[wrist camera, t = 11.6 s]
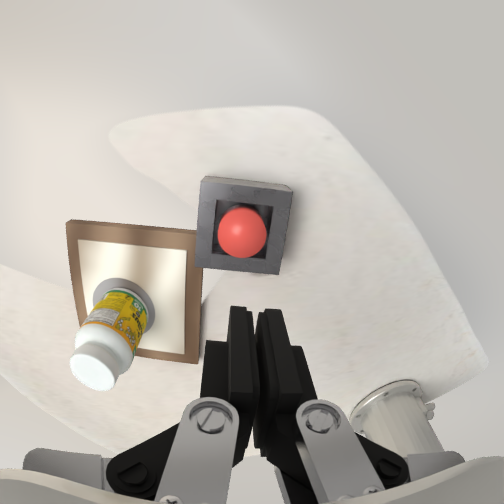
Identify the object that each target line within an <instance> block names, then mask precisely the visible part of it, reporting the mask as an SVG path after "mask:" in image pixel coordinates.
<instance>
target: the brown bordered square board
mask: <svg viewBox="0 0 504 504" xmlns="http://www.w3.org/2000/svg"><path fill="white" fill-rule="evenodd" d="M66 234H67V246H68V256H69V265H70V273H71V280H72V285H73V293H74V299H75V304H76V310H77V315H78V320H79V324H80V327H81V325H82V324H83V322H84V321H85V320H86V318H87V317H88V315H89V314H90V312H91V311H92V309H93V308H94V307H95V305H96V304H97V302H98V301H99V300H100V298H101V297H102V296H103V294H104V293H105V292H107V291H108V290H110V289H113V288H125V289H128V290H131V291H132V292H134V293H136V294H137V295H138V296H139V297H140V298H141V299H142V301H143V302H144V303H145V305H146V307H147V310H148V322H147V325H146V328H145V330H144V332H143V335H142V337H141V340H140V343H139V345H138V348H137V350H136V353H135V356H140V357H146V358H152V359H159V360H166V361H174V362H182V363H190V364H198V361H199V340H200V317H201V297H202V280H203V268H201V267H194V265H195V248H196V234H197V230H187V229H186V230H185V229H176V228H164V227H154V226H143V225H132V224H120V223H108V222H96V221H83V220H70V221H68V222H66Z"/></svg>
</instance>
